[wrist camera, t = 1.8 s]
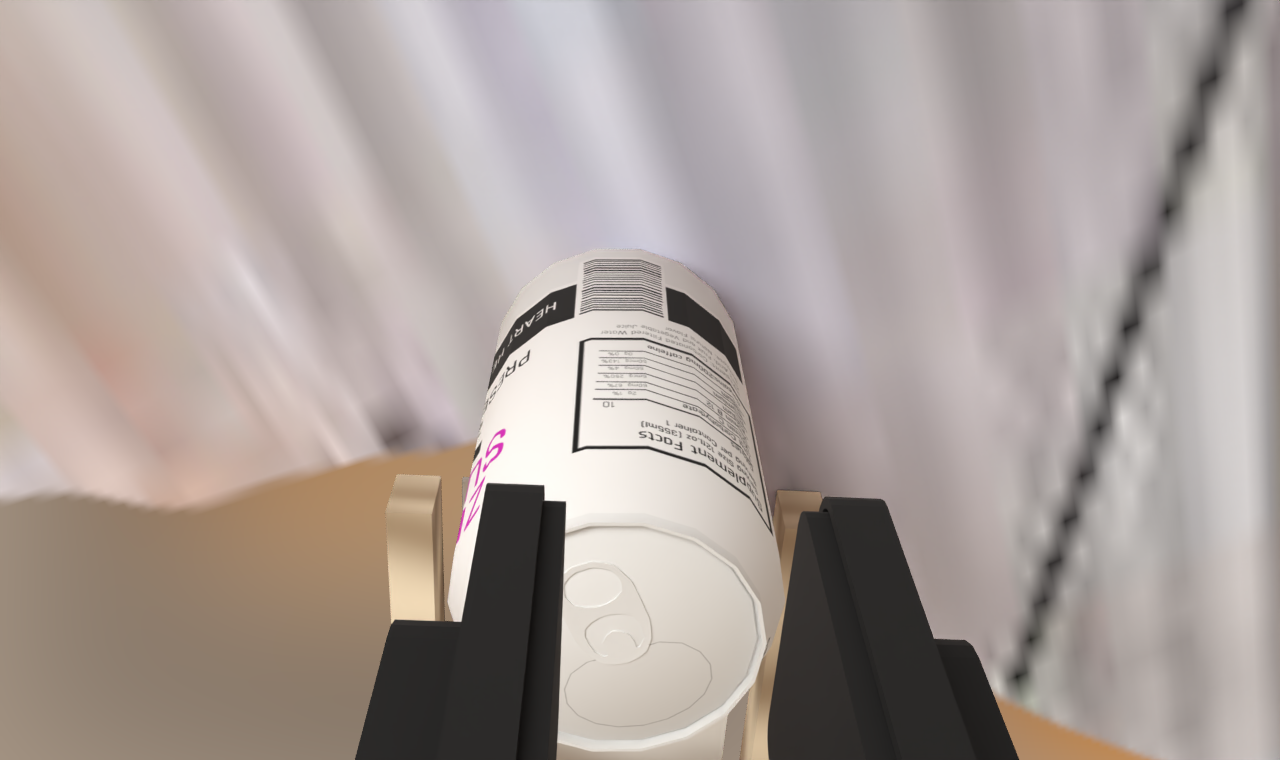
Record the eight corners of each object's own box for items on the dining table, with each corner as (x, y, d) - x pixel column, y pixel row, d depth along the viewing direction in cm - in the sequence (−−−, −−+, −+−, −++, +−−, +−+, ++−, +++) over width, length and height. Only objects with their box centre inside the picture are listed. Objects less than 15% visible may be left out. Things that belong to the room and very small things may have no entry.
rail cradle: (396, 474, 42) (385, 512, 40) (819, 491, 43) (830, 530, 41) (410, 751, 49) (400, 796, 47) (776, 763, 50) (783, 807, 48)
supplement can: (765, 410, 41) (833, 720, 28) (549, 476, 43) (518, 802, 29) (694, 207, 38) (734, 453, 25) (460, 285, 39) (379, 561, 26)
